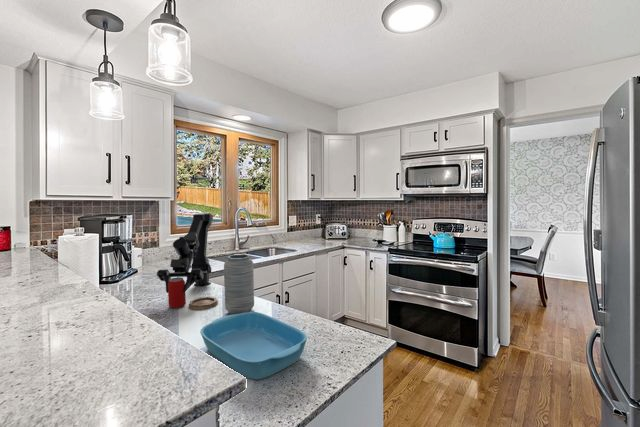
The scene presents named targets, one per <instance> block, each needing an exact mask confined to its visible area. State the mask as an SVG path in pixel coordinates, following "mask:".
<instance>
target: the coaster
mask: <svg viewBox="0 0 640 427" xmlns="http://www.w3.org/2000/svg"><path fill="white" fill-rule="evenodd" d="M188 303H189V304H188V308H189V309H191V310H193V311H194V310H195V311H197V310H198V311H199V310H200V311H201V310H207V309H212V308H215V307H217V305H218V304H219V301H218V299H217V297H213V296H203V297H197V298H194V299H192V300H190V301H189V302H188ZM211 307H212V308H211Z"/></svg>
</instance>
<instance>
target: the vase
mask: <svg viewBox="0 0 640 427" xmlns="http://www.w3.org/2000/svg"><path fill="white" fill-rule="evenodd" d="M250 257H251V256H250V255H249V254H242V253H241V254H240V253H239V254H238V253H237V254H231V255H228V256H227V259H226V260H225V262H224V264H223V273H224V274H223V276H224V277H223V278H224V280H223V281H224V308H225V311H227V312H228V313H229V315H233V314H241V313H246V312H252V310H253V308H254V306H255V277H254V275H255V274H254V261H253V259H251V258H250Z"/></svg>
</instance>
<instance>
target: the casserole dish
mask: <svg viewBox="0 0 640 427" xmlns="http://www.w3.org/2000/svg"><path fill="white" fill-rule="evenodd" d="M200 335H201V337H202V339H203V342H204V345H205V347H206V348H207V350H208V351H209V353H211V354H212V355H213V356H214V357H216V358H217V359H219V360H220V361H221V362H223V363H224V364H225V365H227V366H228V367H230V368H231V369H232V370H234V371H235V372H237V373H239V374H240V375H242V376H244V377H245V378H249V379H251V380H261V379H262V380H263V379H265V378H268V377H270V376H272V375H274V374H276V373H278V372H280V371H282V370H284V369H286V368H288V367H289V366H291V365H293V364H294V363H296V362H297V361H298V360H299V359H300V357H302V354H303V352H304V349H305V346H306V343H307V339H308V336H307V334H306V333H305V332H304V331H302V330H300V329H299V328H297V327H295V326H292V325H290V324H288V323H286V322H283V321H281V320H279V319H277V318H274V317H273V316H270V315H267V314H265V313H261V312H257V311H250V312H246V313H241V314H233V315H231V314H228V315H224V316H222V317H219V318H216V319H213V320H212V321H211V322H210V323H207V324H205V325H204V326H202V327H201V329H200Z"/></svg>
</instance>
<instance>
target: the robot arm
mask: <svg viewBox="0 0 640 427" xmlns="http://www.w3.org/2000/svg"><path fill="white" fill-rule="evenodd" d="M213 217H214V216H213V214H211V212H198V213H194V214H193V216H192V221H191V224H190V227H189V230H188V232H187V234H185V235H184V236H179V238H177V239H175V240H174V241H173V242H172V248H174V250H175V252H176V254H177V255H178V258H172V259H171V260H170V265H169V267H170V268H172V270H173V272H170V271H169V269H159V270H157V272H156V276H157V277H158V279H159V280H160V281H161V282H165V292H166V293H167V294H168V283H169V281H170V279H172V278H178V277H181V278H186V281H185V286H184V290H183V292H184V293H185V294H186V293H187V291H188V290H189V289H190V287H191V286H192V285H193V286H197V287H205V286H208V285H210V284H212V282H210V279H209V278H210V274H212V266H211V264H210V259H209V258H208V256H207V249H208V248H207V247H208V246H207V245H208V233H209V232H208V231H209V228H210V227H211V225H212V222H213V219H214V218H213ZM194 251H196V255H194ZM190 269H191V270H190Z"/></svg>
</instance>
